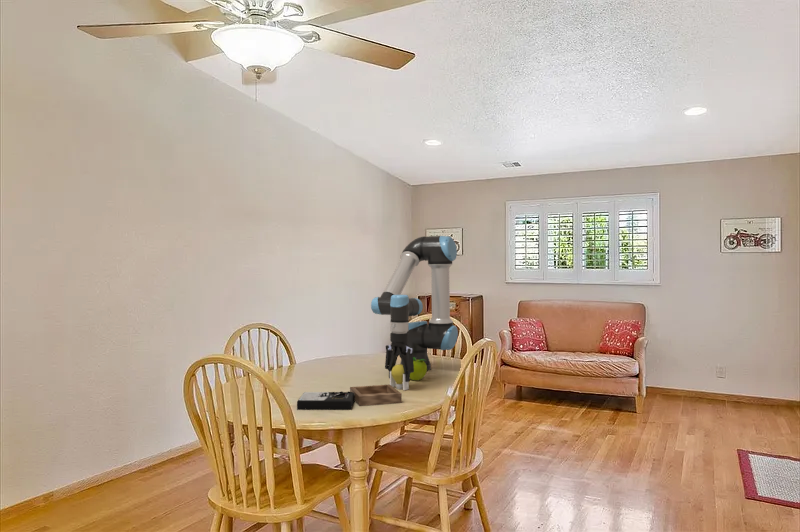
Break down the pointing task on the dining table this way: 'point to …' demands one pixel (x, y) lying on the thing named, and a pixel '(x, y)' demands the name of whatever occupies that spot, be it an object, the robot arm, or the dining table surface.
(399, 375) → the light bulb
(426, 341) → the robot arm
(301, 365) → the dining table surface
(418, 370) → the fruit
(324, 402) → the multimeter
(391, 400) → the tray
